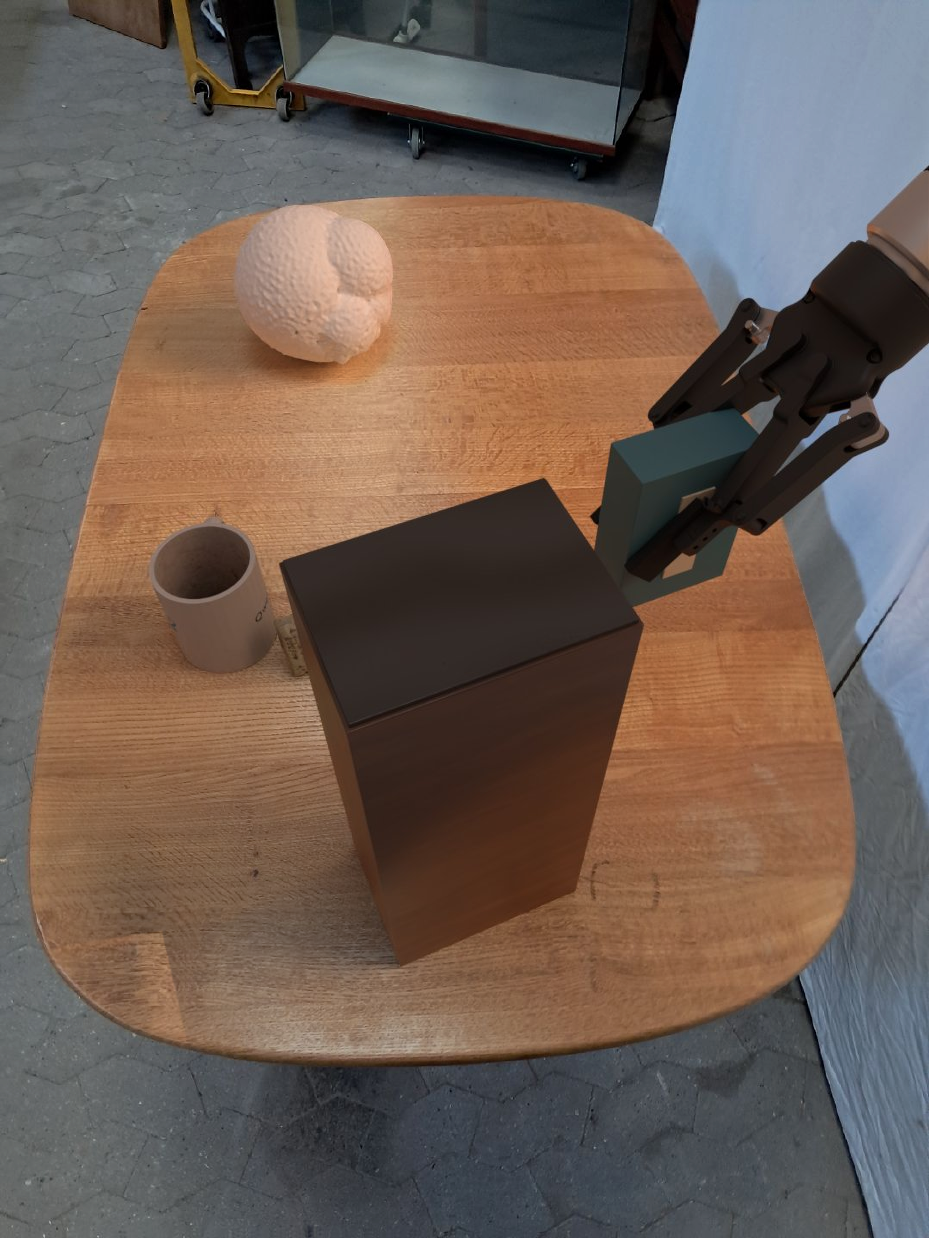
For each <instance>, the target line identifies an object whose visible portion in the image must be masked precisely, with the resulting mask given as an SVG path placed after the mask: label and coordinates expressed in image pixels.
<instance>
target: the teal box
mask: <svg viewBox="0 0 929 1238" xmlns="http://www.w3.org/2000/svg"><path fill="white" fill-rule="evenodd" d="M759 434H760V433H758V431H757V430H756V429H755V428H754V426H752V424H750V423H749V421H748V420H747V419H746V418H745V417H744V416H743V415H741V414H740V413H739V412H738V411H737V410H736V409H735V408H731V409H726V410H720V411H715V412H709V413H706V414H702V415H699V416H696V417H693V418H689V419H686V420H683V421H680V422H677V423H673V424H670V425H667V426H664V427H660V428H657V429H654V428H653V429H651V430H647V431H645V432H641V433H638V434H635V435H631V436H628V437H625V438H622V439H619V440H615V441H612V442H610V445H609V446H610V447H609V453H608V460H607V465H606V472H605V477H604V484H603V490H602V495H601V496H602V498H601V504H600V505H601V509H600V515H599V522H598V525H597V529H596V535H595V541H594V547H593V549H594V551H595V552H596V554H597V555H598V557H599V558H600V560H601V561H602V563H603V564H604V566H605V567H606V569H607V570H608V572H609V573H610V575H611V576H612V578H613V579H614V581H615V582H616V584H617V585H618V587H619V588H620V589H621V591H622V592H623V594H624V595H625V597H626V598H627V600H628V601H629V603H630V604H631V606H632V607H633V608H635V607H639V606H641V605H643V604H646V603H649V602H652V601H655V600H657V599H660V598H663V597H665V596H669V595H672V594H675V593H677V592H680V591H683V590H685V589H688V588H691V587H695V586H697V585H699V584H702V583H705V582H707V581H710V580H713V579H716V578H719V577H722V576H723V575H724V572H725V569H726V566H727V564H728V560H729V557H730V554H731V552H732V548H733V545H734V542H735V539H736V537H737V533H738V531H739V528H738V527H736V526H729V527H727V528H725V529H724V530H723V531H722V532H720V533H719V534H718V535H717V536H716V537H715V538H714V539H713V540H712V541H710V542H709V543H708V544H707V545H706V546H705V547H703V549H702V550H701V551H699V552H698V553H697V554H695V555H693V556H690V557H689V556H687V555H685V554H683V553H682V554H681V555H680V556H678V557H677V558H676V559H675V560H674V561H673V562H672V563H671V564H670V565H669V566H667V567H666V568H665V569H664V570H663V571H662V572H661V573H660V574H659V575H658V576H656V577H655V578H654V579H653V580H652V581H651V582H647V581H645V580H643V579H641V578H638V577H636V576H634V575H632V574H629V572H628V571H627V570H626V568H625V567H624V565H625V564H626V563H627V562H628V561H629V560H630V559H631V558H632V557H633V556H634V555H635V554H636V553H637V552H638V551H640V550H641V549H642V548H643V547H644V546H645V545H646V544H647V543H648V542H649V541H650V540H651V539H652V538H653V537H654V536H656V535H657V534H658V533H659V532H660V531H661V530H662V529H663V528H664V527H665V526H666V525H667V524H668V523H669V522H671V521H672V520H673V519H674V518H675V517H676V516H677V515H678V514H679V513H680V512H681V511H682V510H683V509H684V508H686V507H687V506H688V505H689V504H690V503H691V502H692V501H693V500H694V499H695V498H696V497H697V498H699V499H700V500H702V501H703V498H704V496H706V497H708V498H709V499H711V498H712V496H713V495H714V494H715V492H716V491H717V490H718V488H719V487H720V486H721V484H722V483H723V482H724V481H725V479H726V478H727V477H728V475H729V474H730V473H731V471H732V470H733V469H734V467H735V466H736V465H737V463H738V462H739V461H740V459H741V458H742V457H743V455H744V454H745V453H746V452H747V450H748V449H749V448H750V446H751V445H752V444H753V442H754V441H755V440H756V438H757V437H758V436H759Z"/></svg>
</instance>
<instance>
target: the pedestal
mask: <svg viewBox="0 0 929 1238" xmlns="http://www.w3.org/2000/svg"><path fill="white" fill-rule="evenodd" d="M278 566H279V569H280V573H281V577H282V581H283V584H284V588H285V593H286V596H287V599H288V604H289V607H290V611H291V614H292V615H293V619H294V622H295V626H296V630H297V633H298V637H299V641H300V645H301V648H302V652H303V656H304V660H305V663H306V667H307V671H306V672H307V674H308V678H309V682H310V685H311V686H310V687H311V689H312V692H313V697H314V701H315V704H316V708H317V712H318V715H319V720H320V723H321V727H322V730H323V734H324V737H325V741H326V745H327V748H328V749H327V750H328V753H329V756H330V760H331V764H332V768H333V771H334V775H335V778H336V782H337V787H338V790H339V793H340V797H341V801H342V805H343V809H344V812H345V815H346V819H347V823H348V827H349V831H350V835H351V838H352V842H353V847H354V848H355V850H356V854H357V856H358V860H359V861H360V864H361V867H362V869H363V872H364V875H365V877H366V881H367V883H368V886H369V888H370V891H371V894H372V897H373V899H374V902H375V904H376V907H377V910H378V913H379V915H380V918H381V920H382V924H383V926H384V929H385V931H386V935H387V937H388V940H389V942H390V945H391V947H392V951H393V953H394V956H395V959H396V961H397V964H398V967H403V966H405V965H407V964H410V963H413V962H416V961H417V960H419V959H421V958H424V957H426V956H428V955H432V954H433V953H435V952H437V951H440V950H442V949H445V948H447V947H449V946H451V945H454V944H456V943H458V942H461V941H463V940H465V939H468V938H470V937H472V936H475V935H477V934H479V933H481V932H483V931H486V930H488V929H491V928H493V927H495V926H497V925H500V924H502V923H504V922H507V921H509V920H511V919H513V918H516V917H518V916H520V915H523V914H525V913H528V912H531V911H532V910H534V909H537V908H539V907H541V906H543V905H546V904H548V903H552V902H553V901H554V900H557V899H560V898H562V897H564V896H566V895H568V894H571V893H574V892H576V889H577V886H578V882H579V879H580V878H579V877H580V874H581V870H582V867H583V862H584V859H585V854H586V852H587V847H588V844H589V840H590V837H591V832H592V828H593V824H594V820H595V816H596V813H597V809H598V805H599V800H600V797H601V794H602V791H603V790H602V789H603V786H604V782H605V777H606V774H607V770H608V767H609V762H610V758H611V754H612V751H613V747H614V743H615V739H616V735H617V732H618V728H619V724H620V720H621V716H622V712H623V708H624V704H625V700H626V696H627V693H628V688H629V685H630V681H631V678H632V674H633V671H634V666H635V662H636V658H637V653H638V651H639V647H640V642H641V638H642V634H643V631H644V628H645V623H644V622H643V621H642V619H641V618H640V616H639V614H638V613H637V611H636V610H635V609H634V607H632V606H631V604H630V603H629V601H628V600H627V598H626V597H625V595H624V594H623V592H622V591H621V589H620V588H619V587H618V585H617V584H616V582H615V581H614V579H613V578H612V576H611V575H610V573H609V572H608V570H607V569H606V567H605V566H604V564H603V563H602V561H601V560H600V558H599V557H598V555H597V554H596V552H595V551H594V547H593V546H592V545H591V544H590V542H589V541H588V539H587V537H586V536H585V535H584V533H583V532H582V530H581V529H580V527H579V526H578V524H577V523H576V521H575V520H574V518H573V517H572V516H571V513H569V511H568V509H567V507H566V506H565V505H564V503H563V502H562V501H561V499H560V497H559V496H558V494H557V493H556V491H555V490H554V489H553V487H552V485H551V484H550V483H549V481H548V480H547V478H545V477H542V478H539V479H535V480H533V481H529V482H525V483H522V484H519V485H517V486H513V487H510V488H506V489H504V490H501V491H498V492H495V493H490V494H488V495H485V496H481V497H477V498H475V499H472V500H469V501H466V502H462V503H460V504H456V505H453V506H450V507H447V508H443V509H440V510H437V511H434V512H430V513H428V514H424V515H422V516H418V517H416V518H411V519H409V520H406V521H403V522H399V523H396V524H392V525H389V526H387V527H384V528H381V529H377V530H374V531H371V532H368V533H364V534H361V535H358V536H354V537H351V538H348V539H345V540H342V541H340V542H339V541H338V542H336V543H333V544H329V545H327V546H323V547H320V548H317V549H314V550H310V551H307V552H304V553H301V554H298V555H295V556H291V557H288V558H286V559H285V558H284V559H283V560H282V561H280V562H278Z"/></svg>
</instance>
